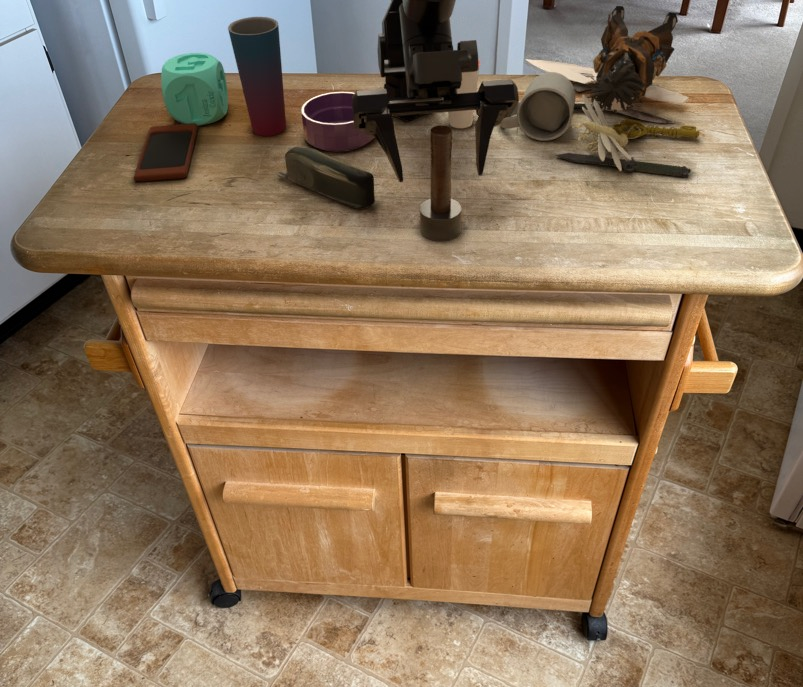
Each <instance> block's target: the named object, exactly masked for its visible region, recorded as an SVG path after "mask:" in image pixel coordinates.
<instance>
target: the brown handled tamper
mask: <svg viewBox="0 0 803 687" xmlns="http://www.w3.org/2000/svg"><path fill="white" fill-rule="evenodd" d="M429 133H430V134H429V135H430V136H429V138H430V139H429V141H430V142H429V145H430V148H429V149H430V151H429V152H430V154H429V155H430V157H429V158H430V160H429V161H430V168H429V170H430V172H429V173H430V176H429V177H430V182H429V184H430V185H429V186H430V187H429V188H430V198H428V199H426V200H424V201H423V202H422V203H421V204H420V206H419V232H420V234H421V235H422V236H423V237H425V238H426V239H428V240H431V241H434V242H435V241H436V242H445V241H446V242H447V241H450V240H453V239H455V238H457V237H458V236H459V235H460V234H461V232H462V218H463V217H462V214H463V213H462V211H463V207H462V204H460V202H458V201H457V200H455V199H453V198H452V166H453V165H452V164H453V163H452V162H453V159H452V158H453V156H452V155H453V129H452V128H451V126H448V125H443V124H441V125H440V124H439V125H435V126H432V127H431V128H430V130H429Z"/></svg>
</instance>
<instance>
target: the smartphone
mask: <svg viewBox="0 0 803 687" xmlns="http://www.w3.org/2000/svg"><path fill="white" fill-rule="evenodd" d="M198 128H199V125H198V126H197V124H195V123H192V124H182V123H180V124H179V123H178V124H168V125H154V126H151V127H149V130H148V132H147V135H146V137H145V141H144V143H143V147H142V149H141V153H140V156H139V159H138V162H137V165H136V168H135V171H134V175H133V180H134V181H135V182H150V181H163V180H175V179H185V178H186V177H187V176H188V173H189V168H190V166H191V165H190V164H191V160H192V155H193V151H194V147H195V142H196V138H197V133H198Z"/></svg>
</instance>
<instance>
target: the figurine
mask: <svg viewBox="0 0 803 687" xmlns="http://www.w3.org/2000/svg"><path fill="white" fill-rule="evenodd" d="M624 20H625V8H624V6H623V5H616V6H615V7H614V9H613V10H612V11H611V12H610V13H608V17H607V21H606V22H607V25H606V26H605V28H604V31H603V33H602V36H601V37H600V42H601V46H602V49H601V50H599V52H598V54H597V55H596V56H595V57H594V59H593V62H592V65H593V68H594V71H595V73H597V76H596V78H597V79H596V81H597V82H596V81H595V80H594V79H593V78H592V77H593V76H591V78H592V79H593V80H594V81H595V82H596V83H588V84H589V85H588V86H591V87H593V88H596V89H594V90H590V91H589V92H587V94H588V96H586V98H587V99H590V101H591V103H594V100H595V101H597V103H598V104H599V105H600V107H601V105H603V106H602V108H603V107H604V110H603V112H605V111H610V112H612V111H611V110H614V111H613V114H616V113H618V112H617V111H621V110H624V111H626V109H627V108H632V109H635V107H634V104H636V103H639V102H642V100H641V98H645V97H644V96H645V93H646V88H647V87H649V86H650V85H652V84H653V81H654V80H655V78H656V77H658V78H659V77H660V75H661V74H662V73H663V72H664V70H665V69H666V67H667V62H668V61H669V59H670V58H671V56H672V55H673V53H674V51H675V47H673V46H672V45H673V41H674V36H673V33H672V32H673V31H674V29H675V28H676V25H677V23H678V21H679V19H678V16H677V13H675V12H671V11H670V12H668V13H667V14H666V15H665V17H664V21H663V22H662V24H661V25H659V26H656V27H655V28H652V29H650V30H649V31H648V30H641V31H637V32H636V33H634V34H633V35H632V34H629V30H628V27H627V24H626V23H625V21H624ZM591 82H592V81H591ZM589 94H590V95H589ZM594 108H595V107H594ZM602 108H601V109H602ZM605 108H607V110H605Z"/></svg>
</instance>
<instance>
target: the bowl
mask: <svg viewBox="0 0 803 687" xmlns="http://www.w3.org/2000/svg"><path fill="white" fill-rule="evenodd" d="M354 94H355V92H352V91H335V92H332V91H331V92H327V93H323V94H319V95H316V96H313V97H311V98H310V99H308V100H307V101H306V102H304V103H303V105H302V106H301V111H300V112H301V121H302V129H303V136H304V139H305V141H306V142H307V143H308V144H309V145H311V146H312V147H315V148H317V149H319V150H321V151H326V152H333V153H334V152H335V153H341V152H349V151H354V150H357V149H359V148H360V149H361V148H362V147H364V146H366V145H367V144H369V143H370V142H372V140H374V139H375V137H374V136H367V135H366V132H365V130H357V129H354V123H353V112H352V96H353V95H354Z"/></svg>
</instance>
